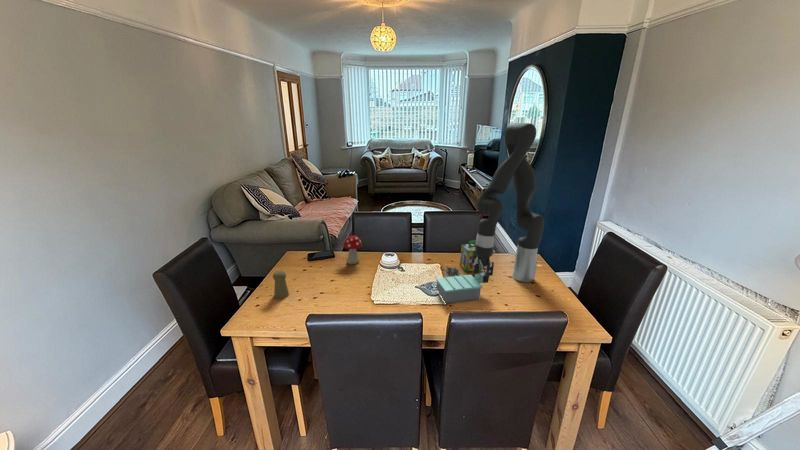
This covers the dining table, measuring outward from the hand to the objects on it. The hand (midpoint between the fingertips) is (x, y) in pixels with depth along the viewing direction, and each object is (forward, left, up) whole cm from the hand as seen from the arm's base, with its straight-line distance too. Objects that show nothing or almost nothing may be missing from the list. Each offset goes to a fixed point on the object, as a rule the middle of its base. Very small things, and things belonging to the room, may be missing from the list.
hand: (480, 277), depth 143 cm
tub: (+10, 0, -8) cm, 13 cm away
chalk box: (-8, -25, -8) cm, 27 cm away
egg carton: (+6, -17, -8) cm, 19 cm away
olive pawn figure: (+85, -18, -8) cm, 87 cm away
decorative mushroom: (+51, -44, -8) cm, 67 cm away
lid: (+8, 0, -2) cm, 8 cm away
